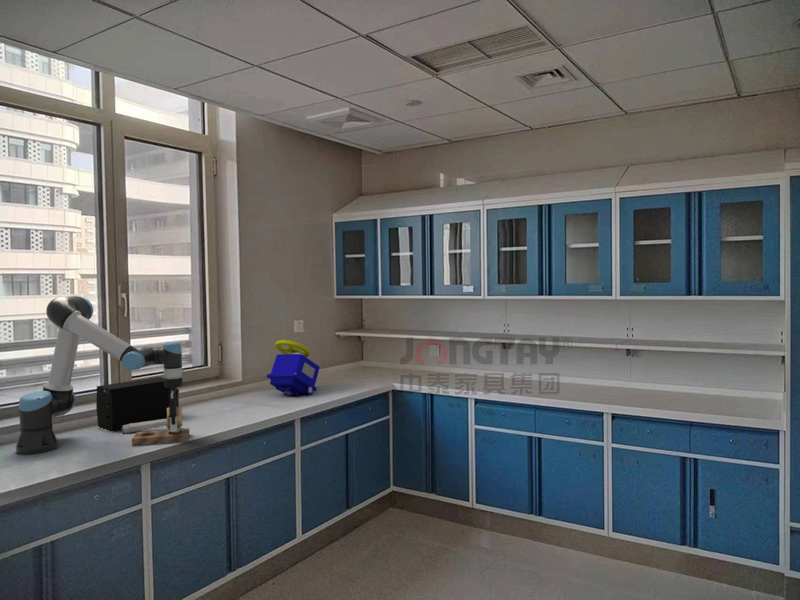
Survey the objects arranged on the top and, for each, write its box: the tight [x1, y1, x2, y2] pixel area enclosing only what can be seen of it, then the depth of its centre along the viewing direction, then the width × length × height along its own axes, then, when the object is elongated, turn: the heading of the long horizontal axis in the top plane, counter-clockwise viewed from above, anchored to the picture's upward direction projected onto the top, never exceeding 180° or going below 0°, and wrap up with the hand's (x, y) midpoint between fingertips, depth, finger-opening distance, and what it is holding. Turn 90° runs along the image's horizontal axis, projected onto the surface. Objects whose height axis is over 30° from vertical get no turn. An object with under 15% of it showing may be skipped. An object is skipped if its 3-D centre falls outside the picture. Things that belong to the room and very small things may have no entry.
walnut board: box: [131, 427, 191, 447], centre depth 259 cm, size 22×12×3 cm, turn 104°
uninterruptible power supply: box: [95, 376, 170, 432], centre depth 291 cm, size 16×34×20 cm, turn 141°
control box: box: [266, 339, 321, 397], centre depth 361 cm, size 26×27×30 cm
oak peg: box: [166, 406, 183, 434], centre depth 260 cm, size 6×6×11 cm
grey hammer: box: [121, 419, 170, 434], centre depth 276 cm, size 5×7×25 cm
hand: (174, 429), depth 261 cm, fingers closed on oak peg, 6 cm apart
